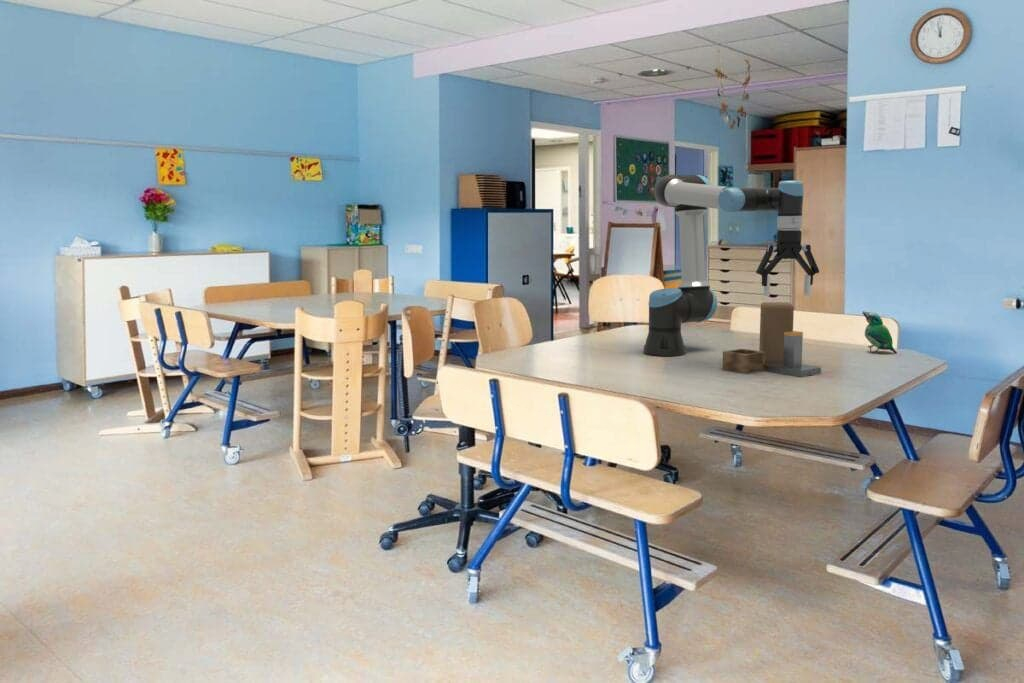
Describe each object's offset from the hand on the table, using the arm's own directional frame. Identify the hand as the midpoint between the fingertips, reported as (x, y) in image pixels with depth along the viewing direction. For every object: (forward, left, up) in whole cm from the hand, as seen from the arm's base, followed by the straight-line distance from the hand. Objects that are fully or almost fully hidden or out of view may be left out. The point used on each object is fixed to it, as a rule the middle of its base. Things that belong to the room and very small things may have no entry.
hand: (786, 295), depth 274 cm
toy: (+1, +52, -24) cm, 57 cm away
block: (-10, +9, -24) cm, 28 cm away
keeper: (+6, -3, -24) cm, 25 cm away
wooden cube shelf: (-6, -12, -24) cm, 28 cm away
